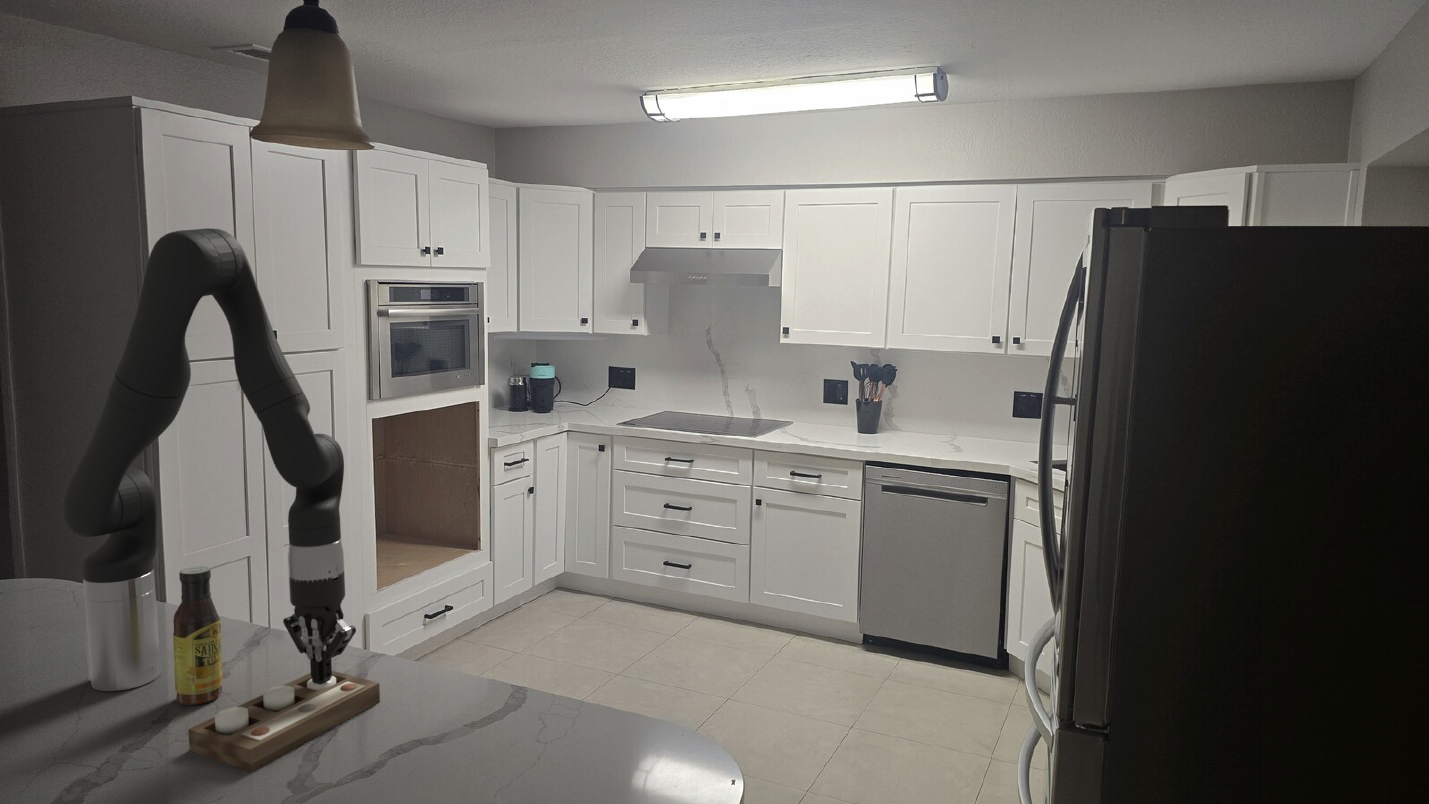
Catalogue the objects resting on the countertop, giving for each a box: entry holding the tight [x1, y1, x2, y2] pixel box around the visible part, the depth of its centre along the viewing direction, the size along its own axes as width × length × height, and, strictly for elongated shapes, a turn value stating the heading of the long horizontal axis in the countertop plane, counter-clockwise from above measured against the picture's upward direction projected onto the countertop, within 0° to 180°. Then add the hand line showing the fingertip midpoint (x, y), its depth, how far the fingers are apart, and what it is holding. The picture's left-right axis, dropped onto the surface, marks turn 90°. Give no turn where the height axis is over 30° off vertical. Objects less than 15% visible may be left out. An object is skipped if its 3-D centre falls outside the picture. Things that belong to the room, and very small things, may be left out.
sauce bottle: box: [172, 565, 224, 706], centre depth 137 cm, size 7×6×20 cm
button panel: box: [187, 670, 381, 772], centre depth 130 cm, size 12×22×3 cm, turn 155°
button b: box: [262, 685, 295, 712], centre depth 131 cm, size 4×4×2 cm
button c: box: [214, 706, 249, 735], centre depth 124 cm, size 4×4×2 cm
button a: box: [307, 676, 336, 691], centre depth 138 cm, size 4×4×2 cm
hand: (321, 681), depth 137 cm, fingers closed
